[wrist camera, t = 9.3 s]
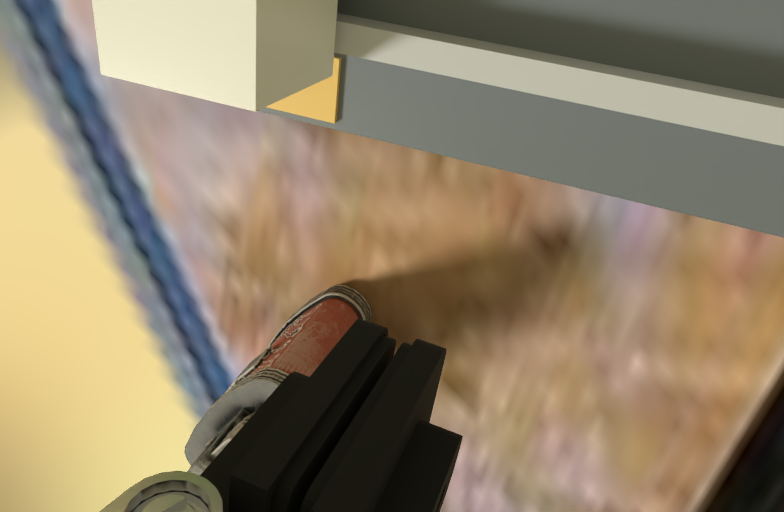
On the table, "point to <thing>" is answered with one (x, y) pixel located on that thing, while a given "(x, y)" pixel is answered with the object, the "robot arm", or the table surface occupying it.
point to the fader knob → (218, 46)
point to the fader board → (574, 94)
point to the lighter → (276, 368)
